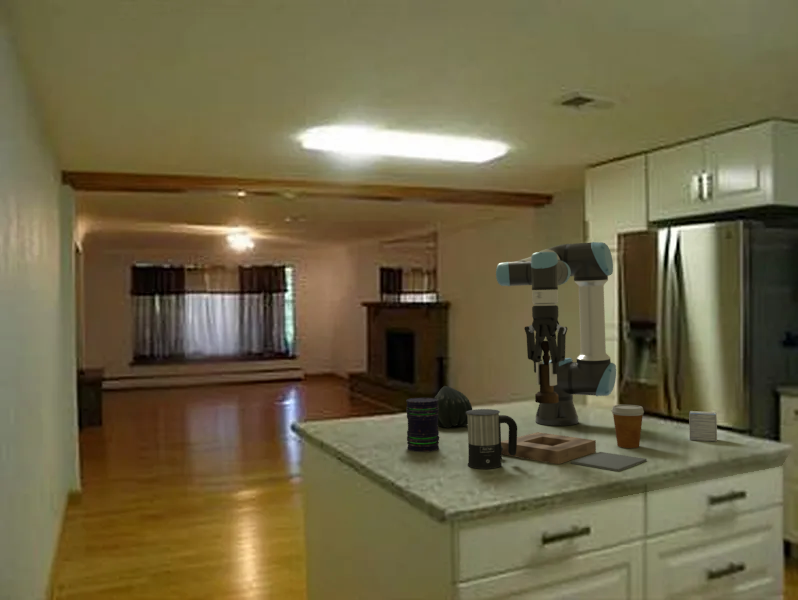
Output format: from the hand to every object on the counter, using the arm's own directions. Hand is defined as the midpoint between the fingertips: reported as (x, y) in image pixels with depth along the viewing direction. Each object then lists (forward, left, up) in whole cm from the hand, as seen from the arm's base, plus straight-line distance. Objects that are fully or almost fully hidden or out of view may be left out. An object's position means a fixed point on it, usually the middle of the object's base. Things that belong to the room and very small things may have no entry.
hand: (546, 384), depth 207 cm
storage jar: (-32, -19, -20) cm, 42 cm away
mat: (+19, +1, -20) cm, 28 cm away
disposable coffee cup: (+13, +24, -20) cm, 34 cm away
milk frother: (-6, -21, -20) cm, 30 cm away
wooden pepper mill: (0, 0, -5) cm, 5 cm away
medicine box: (+26, +48, -20) cm, 58 cm away
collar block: (0, 0, -20) cm, 20 cm away
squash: (-51, +16, -20) cm, 57 cm away
